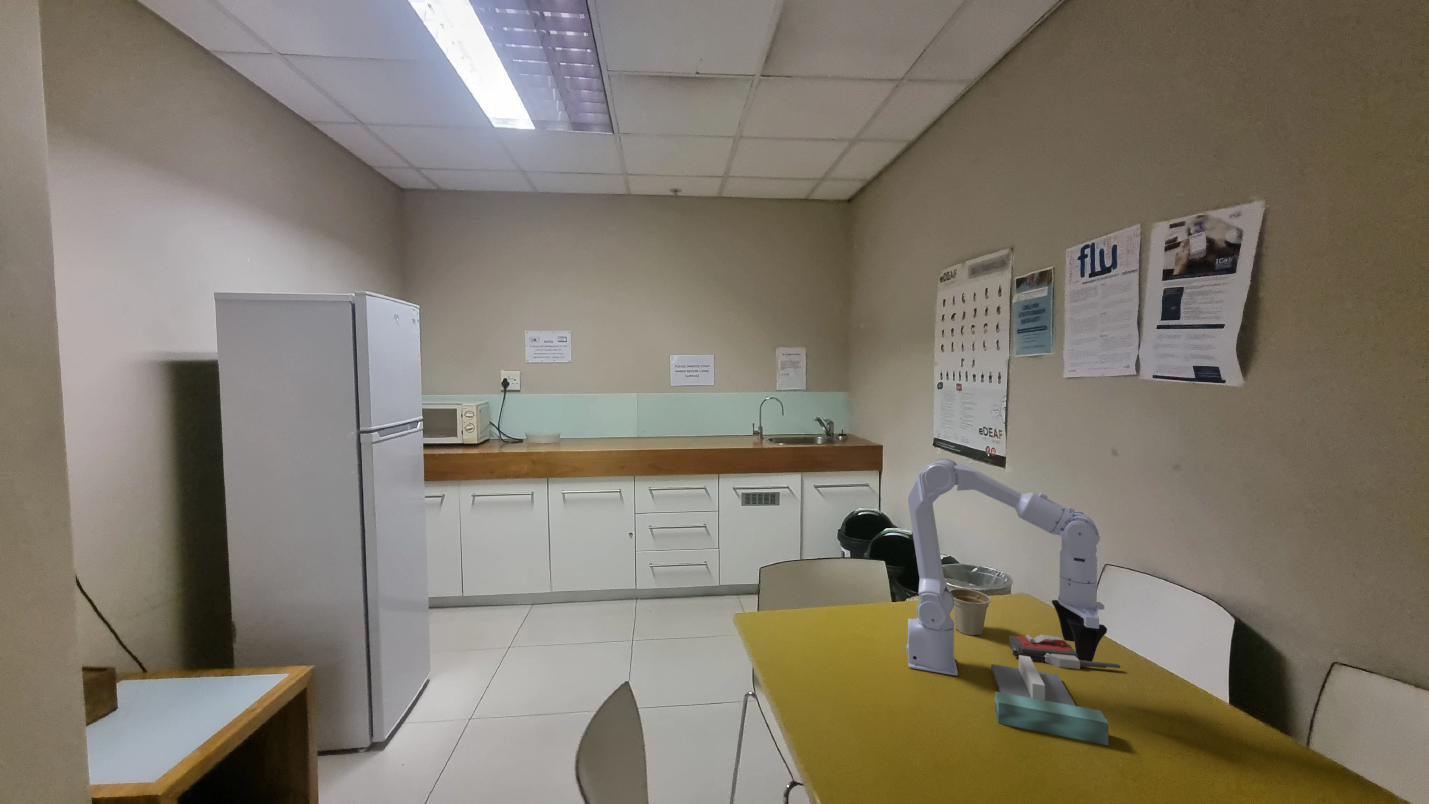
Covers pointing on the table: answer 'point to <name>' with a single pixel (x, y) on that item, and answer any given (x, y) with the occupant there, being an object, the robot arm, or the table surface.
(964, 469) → the robot arm
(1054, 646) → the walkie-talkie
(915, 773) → the table surface
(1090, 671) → the table surface
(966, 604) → the flower pot
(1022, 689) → the stand
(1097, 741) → the teal bar
